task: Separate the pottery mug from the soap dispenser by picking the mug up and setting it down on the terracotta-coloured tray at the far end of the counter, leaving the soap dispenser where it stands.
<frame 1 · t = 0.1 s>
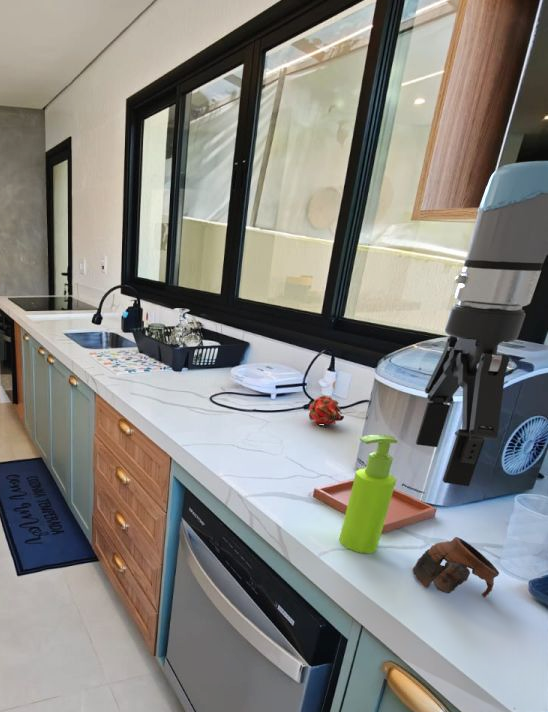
hand: (439, 462, 70), 20 cm above the countertop, tool pointing down, fingers open, 13 cm apart
soap dispenser: (354, 544, 87), on the countertop
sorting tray: (371, 505, 100), on the countertop
dragon fruit: (322, 424, 146), on the countertop
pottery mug: (447, 587, 77), on the countertop
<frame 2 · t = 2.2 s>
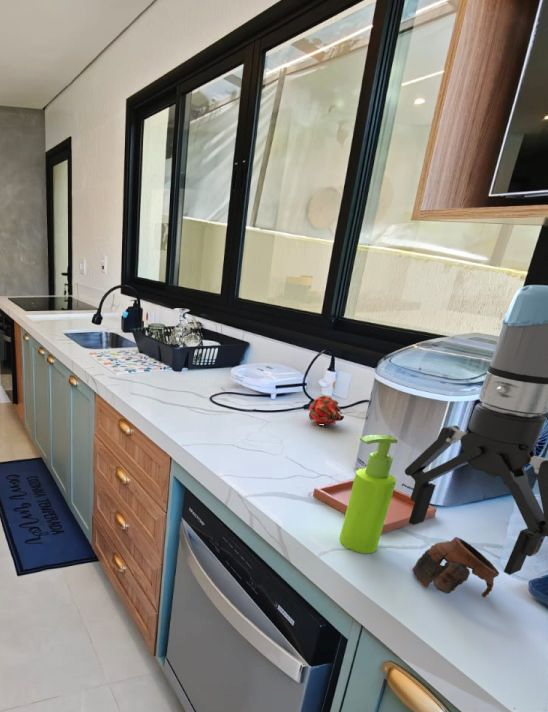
hand: (460, 544, 74), 7 cm above the countertop, tool pointing down, fingers open, 13 cm apart
nothing on the countertop moved.
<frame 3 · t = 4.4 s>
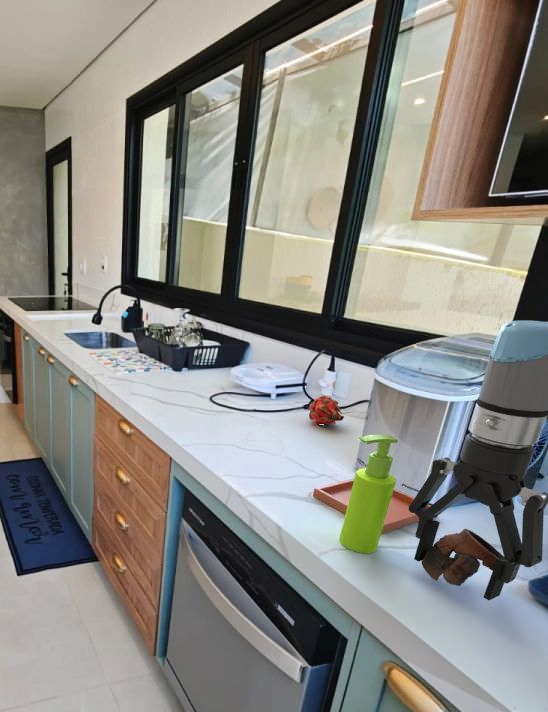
hand: (454, 576, 76), 2 cm above the countertop, tool pointing down, fingers closed on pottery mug, 9 cm apart
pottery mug: (457, 580, 76), point 2 cm above the countertop, touching gripper
everything else where it was.
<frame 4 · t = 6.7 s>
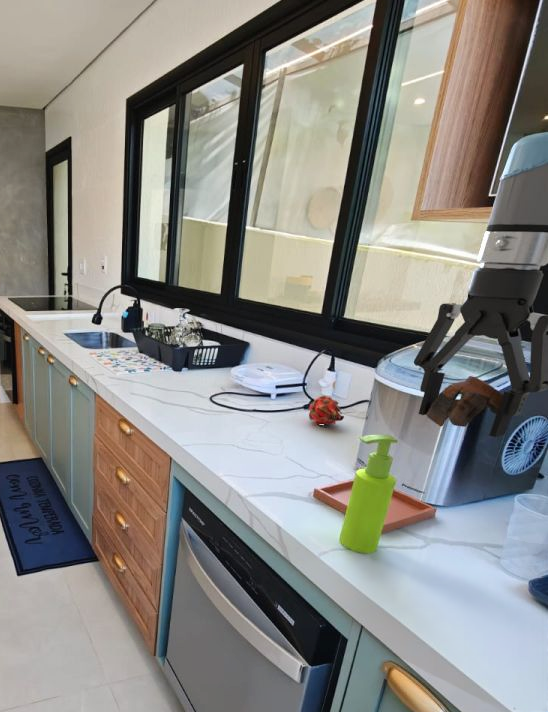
hand: (459, 423, 76), 24 cm above the countertop, tool pointing down, fingers closed on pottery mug, 9 cm apart
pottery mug: (461, 427, 76), point 23 cm above the countertop, touching gripper
everything else where it was.
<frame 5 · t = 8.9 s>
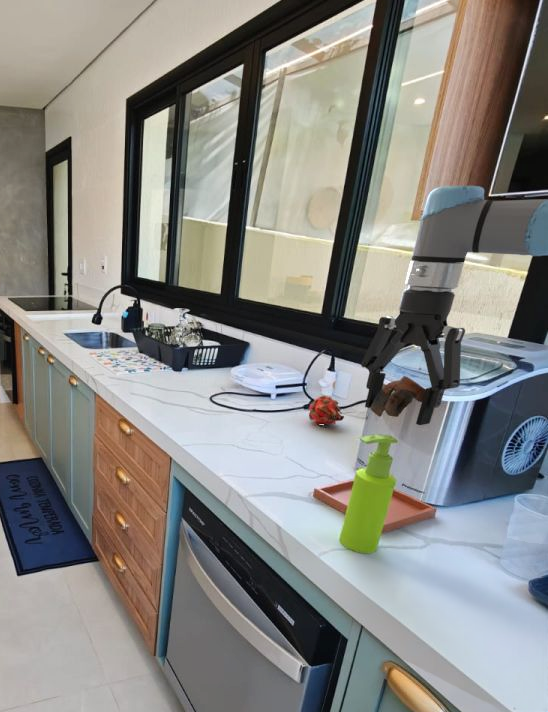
hand: (395, 414, 93), 19 cm above the countertop, tool pointing down, fingers closed on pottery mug, 9 cm apart
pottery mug: (397, 417, 93), point 19 cm above the countertop, touching gripper
everything else where it was.
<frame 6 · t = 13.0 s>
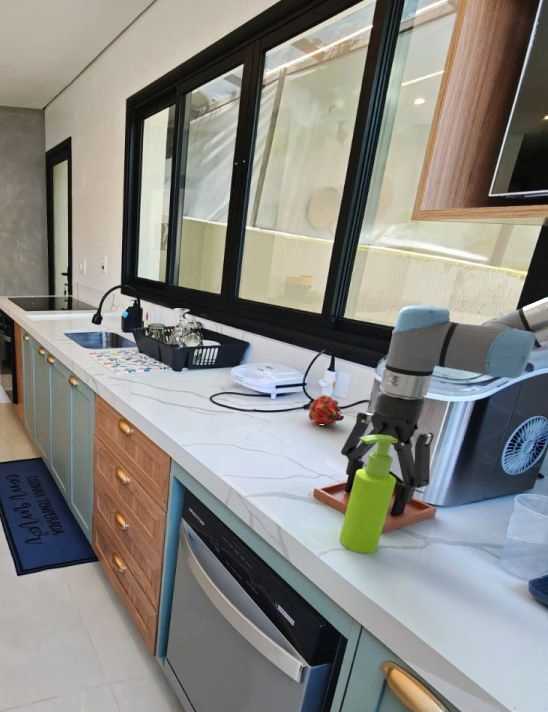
hand: (372, 502, 100), 1 cm above the countertop, tool pointing down, fingers closed on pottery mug, 9 cm apart
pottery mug: (374, 504, 100), resting on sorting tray, touching gripper
everything else where it was.
when the fingers open (2 cm above the countertop, at t = 13.8 s): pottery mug stays where it is, resting on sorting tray.
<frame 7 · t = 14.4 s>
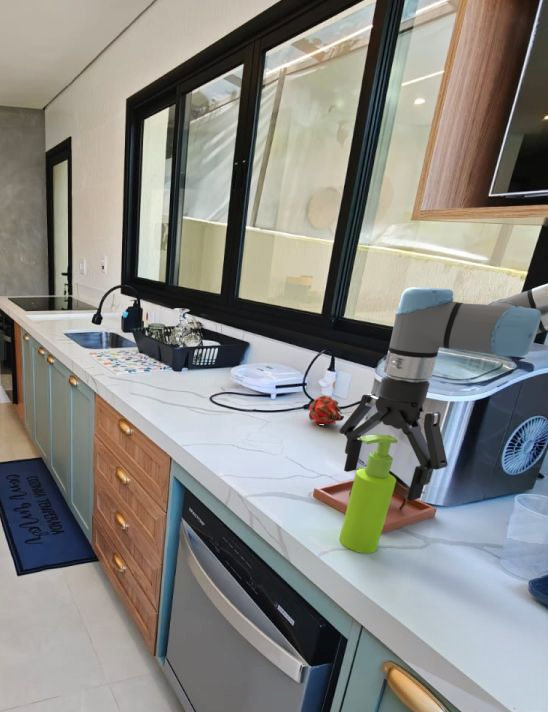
hand: (379, 483, 98), 5 cm above the countertop, tool pointing down, fingers open, 13 cm apart
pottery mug: (374, 505, 100), resting on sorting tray
everything else where it was.
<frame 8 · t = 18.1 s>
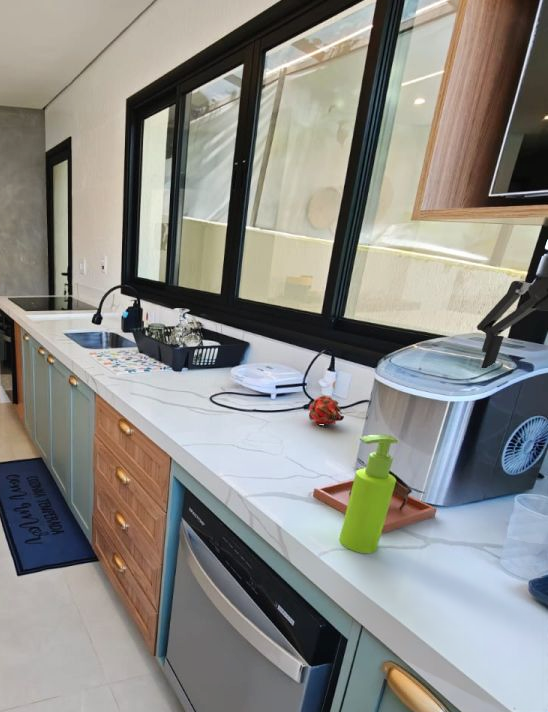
hand: (527, 379, 90), 27 cm above the countertop, tool pointing down, fingers open, 13 cm apart
nothing on the countertop moved.
at the end: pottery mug inside the target area in the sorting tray (0.4 cm from its centre), point 0.4 cm above the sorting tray's base; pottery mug tilted 0°; soap dispenser moved 0.2 cm from its start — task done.
